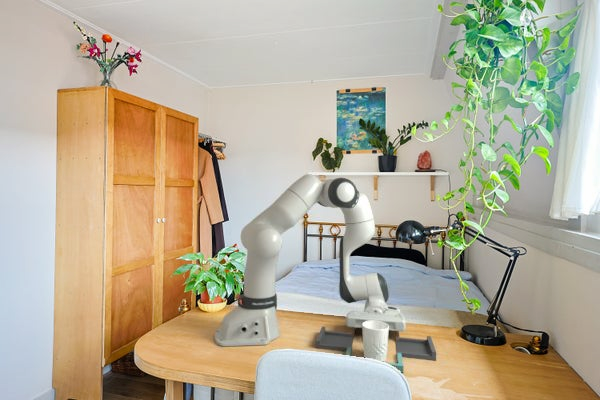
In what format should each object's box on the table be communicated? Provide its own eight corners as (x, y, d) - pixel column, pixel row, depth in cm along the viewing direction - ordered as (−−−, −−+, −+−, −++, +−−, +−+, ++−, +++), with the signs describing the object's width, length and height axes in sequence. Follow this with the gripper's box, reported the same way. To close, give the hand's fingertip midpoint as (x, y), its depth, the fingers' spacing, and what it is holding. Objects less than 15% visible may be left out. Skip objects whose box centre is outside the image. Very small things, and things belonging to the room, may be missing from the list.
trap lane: (326, 323, 137) (326, 317, 137) (426, 332, 129) (426, 325, 129) (309, 362, 106) (309, 354, 106) (441, 377, 98) (441, 368, 98)
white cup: (359, 361, 107) (359, 327, 107) (364, 350, 115) (364, 319, 114) (386, 365, 104) (387, 331, 104) (389, 354, 112) (390, 322, 112)
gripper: (347, 304, 134) (343, 317, 121) (404, 309, 130) (406, 322, 116) (347, 321, 134) (343, 336, 121) (404, 326, 130) (406, 342, 116)
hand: (374, 329), depth 118 cm, fingers closed
